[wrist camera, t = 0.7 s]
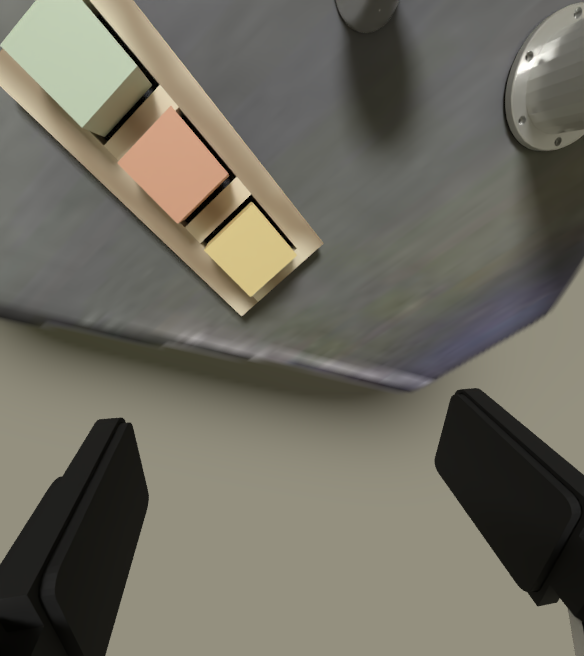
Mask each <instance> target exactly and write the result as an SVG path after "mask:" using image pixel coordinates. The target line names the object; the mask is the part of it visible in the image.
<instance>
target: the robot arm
mask: <svg viewBox="0 0 584 656" xmlns="http://www.w3.org/2000/svg"><path fill="white" fill-rule="evenodd" d="M505 110H506V117H507V121H508V124H509V127H510V130H511V132H512V133H513V135H514V137H515V138H516V139H517V140H518V141H519V142H520V143H521V144H522V145H523V146H525V147H527V148H528V149H531V150H535V151H551V150H557V149H560V148H563V147H566V146H568V145H570V144H572V143H573V142H575V141H577V140H578V139H579V138H581V137H582V136H583V135H584V2H580V3H576V4H572V5H569V6H567V7H565V8H563V9H561V10H559V11H557V12H555V13H554V14H552V15H551V16H549V17H547V18H546V19H545V20H544V21H542V22H541V23H540V24H539V25H538V26H537V27H536V28H535V29H534V30H533V31H532V33H531V34H530V35H529V36H528V38H527V39H526V40H525V42H524V43H523V45H522V47H521V48H520V50H519V52H518V54H517V56H516V58H515V60H514V63H513V65H512V67H511V71H510V74H509V78H508V81H507V87H506V94H505ZM435 467H436V469H437V471H438V473H439V474H440V476H441V477H442V479H443V480H444V481H445V483H446V484H447V486H448V487H449V488H450V490H451V491H452V493H453V494H454V496H455V497H456V498H457V500H458V501H459V503H460V504H461V505H462V507H463V508H464V510H465V511H466V513H467V514H468V515H469V517H470V518H471V520H472V521H473V523H475V525H476V527H477V528H478V530H479V531H480V532H481V534H482V535H483V537H484V538H485V539H486V541H487V542H488V544H489V545H490V547H491V548H492V549H493V551H494V552H495V554H496V555H497V557H498V558H499V559H500V561H501V562H502V564H503V565H504V566H505V568H506V569H507V571H508V572H509V573H510V575H511V576H512V578H513V579H514V581H515V582H516V583H517V585H518V586H519V587H520V588H521V589H523V590H524V591H526V592H528V594H529V595H530V597H531V598H532V599H533V601H534V602H535V603H536V605H537V606H542V605H546V604H551V603H557V602H558V600H559V598H560V599H561V600H562V601H563V602H564V604H565V605H566V606H567V607H568V612H569V618H570V624H571V631H572V637H573V643H574V649H575V655H576V656H584V475H583V474H582V473H581V472H579V471H578V470H577V469H576V468H575V467H573V466H572V465H571V464H570V463H569V462H567V461H566V460H565V459H564V458H562V457H561V456H560V455H559V454H558V453H556V452H555V451H554V450H553V449H551V448H550V447H549V446H548V445H547V444H546V443H544V442H543V441H542V440H541V439H539V438H538V437H537V436H536V435H535V434H533V433H532V432H531V431H530V430H529V429H528V428H526V427H525V426H524V425H523V424H521V423H520V422H519V421H517V419H515V418H514V417H513V416H512V415H510V414H509V413H508V412H507V411H506V410H504V409H503V408H502V407H501V406H500V405H499V404H497V403H496V402H495V401H494V400H492V399H491V398H490V397H489V396H487V395H486V394H485V393H484V392H482V391H481V390H480V389H477V388H474V389H462V390H457V391H456V393H455V395H453V396H452V397H451V399H450V403H449V407H448V411H447V414H446V419H445V422H444V426H443V430H442V433H441V437H440V441H439V445H438V449H437V452H436V456H435ZM148 500H149V495H148V489H147V485H146V481H145V476H144V472H143V468H142V464H141V459H140V455H139V451H138V447H137V442H136V438H135V434H134V430H133V426H132V424H131V423H126V422H125V420H124V419H123V418H111V419H99V420H97V422H96V423H95V424H94V426H93V427H92V429H91V431H90V433H89V434H88V436H87V437H86V439H85V440H84V442H83V444H82V446H81V447H80V449H79V450H78V452H77V454H76V455H75V457H74V458H73V460H72V462H71V463H70V465H69V467H68V468H67V470H66V471H65V473H64V475H63V476H62V477H59V478H57V479H56V480H55V481H54V482H53V483H52V484H51V486H50V487H49V489H48V490H47V492H46V493H45V495H44V497H43V498H42V500H41V501H40V503H39V504H38V506H37V508H36V509H35V511H34V513H33V514H32V516H31V517H30V519H29V520H28V522H27V523H26V525H25V526H24V528H23V530H22V531H21V533H20V535H19V536H18V538H17V539H16V541H15V542H14V544H13V545H12V547H11V549H10V550H9V552H8V554H7V555H6V557H5V558H4V560H3V561H2V563H1V564H0V656H105V654H106V651H107V647H108V644H109V640H110V636H111V633H112V630H113V626H114V623H115V619H116V616H117V612H118V609H119V605H120V602H121V598H122V595H123V591H124V588H125V584H126V581H127V577H128V574H129V570H130V567H131V563H132V560H133V556H134V553H135V549H136V546H137V542H138V539H139V535H140V532H141V528H142V525H143V521H144V518H145V514H146V510H147V507H148Z"/></svg>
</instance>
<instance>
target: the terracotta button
mask: <svg viewBox="0 0 584 656" xmlns="http://www.w3.org/2000/svg"><path fill="white" fill-rule="evenodd" d="M117 163H118V164H119V165H120V166H121V167H122V168H123V169H124V170H125V171H126V172H127V173H128V175H129V176H130V177H131V178H132V179H133V180H134V181H135V182H136V183H137V184H138V185H139V186H140V187H141V188H142V189H143V190H144V191H145V192H146V193H147V194H148V195H149V196H150V197H151V198H152V199H153V200H154V201H155V202H156V203H157V204H158V205H159V206H160V207H161V208H162V209H163V210H164V211H165V212H166V213H167V214H168V215H169V216H170V217H171V218H172V219H173V220H174V221H175V222H176V223H177V224H178V223H180V222H182V221H184V220H185V219H186V218H187V217H188V216H189V215H190V214H191V213H192V212H193V211H194V210H195V209H196V208H197V207H198V206H199V205H200V204H201V203H202V202H203V201H204V200H206V199H207V198H208V197H209V196H210V195H211V194H212V193H213V192H214V191H215V190H216V189H217V188H218V187H219V186H220V185H221V184H222V183H223V182H224V181H225V180H226V179H227V178H228V177H229V174H228V173H227V171H226V170H225V169H224V168H223V167H222V165H221V164H220V163H219V162H218V161H217V160H216V158H215V157H214V156H213V155H212V154H211V152H210V151H209V150H208V149H207V148H206V147H205V145H204V144H203V143H202V142H201V141H200V139H199V138H198V137H197V136H196V135H195V133H194V132H193V131H192V130H191V129H190V128H189V126H188V125H187V124H186V123H185V122H184V120H183V119H182V118H181V117H180V116H179V115H178V113H177V112H176V111H175V110H174V109H173V107H172V106H170V107H169V108H168V109H167V110H166V111H165V112H164V113H163V114H162V115H161V116H160V118H159V119H158V120H157V121H156V122H155V123H154V124H153V125H152V126H151V127H150V128H149V129H148V130H147V131H146V133H145V134H144V135H143V136H142V137H141V138H140V139H139V140H138V141H137V142H136V143H135V144H134V145H133V146H132V147H131V149H130V150H129V151H128V152H127V153H126V154H125V155H124V156H123V157H122V158H121V159H120V160H119V161H118V162H117Z"/></svg>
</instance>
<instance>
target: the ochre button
mask: <svg viewBox="0 0 584 656" xmlns="http://www.w3.org/2000/svg"><path fill="white" fill-rule="evenodd" d="M204 251H205V252H206V253H207V254H208V255H209V256H210V257H211V258H212V259H213V260H214V261H215V262H216V263H217V264H218V265H219V266H220V267H221V268H222V269H223V270H224V271H225V272H226V273H227V274H228V275H229V276H230V277H231V278H232V279H233V280H234V281H235V282H236V283H237V284H238V285H239V286H240V287H241V288H242V289H243V290H244V291H245V292H246V293H247V294H248V295H249V296H250V297H251V296H253V295H254V294H255V293H256V292H257V291H258V290H259V289H260V288H261V287H263V286H264V285H265V284H266V283H267V282H268V281H269V280H270V279H271V278H273V277H274V276H275V275H276V274H277V273H278V272H279V271H280V270H281V269H283V268H284V267H285V266H286V265H287V264H288V263H289V262H290V261H291V260H293V259H294V258H295V257H296V256H297V254H296V253H295V252H294V251H293V250H292V248H291V247H290V246H289V245H288V244H287V243H286V241H285V240H284V239H283V238H282V237H281V235H280V234H279V233H278V232H277V231H276V229H275V228H274V227H273V226H272V225H271V224H270V222H269V221H268V220H267V219H266V218H265V216H264V215H263V214H262V213H261V212H260V211H259V209H258V208H257V207H256V206H255V205H254V203H252V202H250V203H249V204H248V205H247V206H246V207H245V208H244V209H243V210H242V211H241V212H240V213H239V214H238V215H237V216H236V217H234V218H233V219H232V220H231V221H230V222H229V223H228V224H227V225H226V226H225V227H224V228H223V229H222V230H221V231H220V232H219V233H218V234H217V235H216V236H215V237H214V238H213V239H212V240H210V241H209V242H208V244H207V246H206V248H205V249H204Z"/></svg>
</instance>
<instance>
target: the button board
mask: <svg viewBox="0 0 584 656" xmlns="http://www.w3.org/2000/svg"><path fill="white" fill-rule="evenodd" d="M82 1H83V2H84V3H85V4H86V6H87V7H88V8H89V9H90V10H91V11H92V13H93V14H94V15H95V16H96V17H97V16H98V15H99V14H100V15H101V16H102V17H103V19H104V20H105V21H106V22H107V23H108V25H109V26H110V27H111V28H112V29H113V31H114V32H115V33H116V34H117V35H118V37H119V38H120V39H121V40H122V41H123V43H124V44H125V45H126V46H127V47H128V49H129V50H130V51H131V52H132V53H133V55H134V56H135V57H136V58H137V59H138V61H139V62H140V63H141V64H142V65H143V66H144V68H145V69H146V70H147V71H148V72H149V74H150V75H151V76H152V77H153V78H154V80H155V81H156V82H157V83H158V84H159V86H158V87H157V88H156V89H155V91H154V92H153V93H152V94H151V95H150V96H149V97H148V98H147V99H146V100H145V101H144V103H143V104H142V105H141V106H140V107H139V108H138V109H137V110H136V111H135V112H134V113H133V115H132V116H131V117H130V118H129V119H128V120H127V121H126V122H125V123H124V124H123V125H122V127H121V128H120V129H119V130H118V131H117V132H116V133H115V134H114V135H113V136H112V137H111V139H110V140H109V141H108V142H107V140H106V139H105V138H104V137H103V136H101V135H98V134H96V133H93V132H91V131H89V130H86V129H84V128H82V127H81V126H80V125H79V124H78V123H77V122H76V121H75V120H74V119H73V118H72V117H71V116H70V115H69V114H68V113H67V112H66V111H65V110H64V109H63V108H62V107H61V106H60V105H59V104H58V103H57V102H56V101H55V100H54V99H53V98H52V97H51V96H50V95H49V94H48V93H47V92H46V91H45V90H44V89H43V88H42V87H41V86H40V85H39V84H38V83H37V82H36V81H35V80H34V79H33V78H32V77H31V76H30V75H29V74H28V73H27V72H26V71H25V70H24V69H23V68H22V67H21V66H20V65H19V64H18V63H17V62H16V61H15V60H14V59H13V58H12V57H11V56H10V55H9V54H8V53H7V52H6V51H5V50H4V49H2V50H1V51H0V86H1V87H2V88H3V89H4V90H5V91H6V92H7V93H8V94H9V95H10V96H11V97H12V98H13V99H15V100H16V101H17V102H18V103H19V104H20V105H21V106H22V107H23V108H24V109H25V110H26V111H27V112H28V113H29V114H30V115H31V116H32V117H33V118H34V119H35V120H37V121H38V122H39V123H40V124H41V125H42V126H43V127H44V128H45V129H46V130H47V131H48V132H49V133H50V134H51V135H52V136H53V137H54V138H55V139H56V140H57V141H59V142H60V143H61V144H62V145H63V146H64V147H65V148H66V149H67V150H68V151H69V152H70V153H71V154H72V155H73V156H74V157H75V158H76V159H77V160H78V161H79V162H80V163H82V164H83V165H84V166H85V167H86V168H87V169H88V170H89V171H90V172H91V173H92V174H93V175H94V176H95V177H96V178H97V179H98V180H99V181H100V182H101V183H102V184H104V185H105V186H106V187H107V188H108V189H109V190H110V191H111V192H112V193H113V194H114V195H115V196H116V197H117V198H118V199H119V200H120V201H121V202H122V203H123V204H124V205H126V206H127V207H128V208H129V209H130V210H131V211H132V212H133V213H134V214H135V215H136V216H137V217H138V218H139V219H140V220H141V221H142V222H143V223H144V224H145V225H146V226H148V227H149V228H150V229H151V230H152V231H153V232H154V233H155V234H156V235H157V236H158V237H159V238H160V239H161V240H162V241H163V242H164V243H165V244H166V245H167V246H168V247H169V248H171V249H172V250H173V251H174V252H175V253H176V254H177V255H178V256H179V257H180V258H181V259H182V260H183V261H184V262H185V263H186V264H187V265H188V266H189V267H190V268H191V269H193V270H194V271H195V272H196V273H197V274H198V275H199V276H200V277H201V278H202V279H203V280H204V281H205V282H206V283H207V284H208V285H209V286H210V287H211V288H212V289H213V290H215V291H216V292H217V293H218V294H219V295H220V296H221V297H222V298H223V299H224V300H225V301H226V302H227V303H228V304H229V305H230V306H231V307H232V308H233V309H234V310H235V311H237V312H238V313H239V314H240V315H241V316H243V315H244V314H245V313H246V312H247V311H248V310H249V309H251V308H252V307H253V306H254V305H255V304H256V303H257V302H258V301H260V300H261V299H262V298H263V297H264V296H265V295H266V294H267V293H269V292H270V291H271V290H272V289H273V288H274V287H275V286H276V285H277V284H279V283H280V282H281V281H282V280H283V279H284V278H285V277H286V276H288V275H289V274H290V273H291V272H292V271H293V270H294V269H295V268H297V267H298V266H299V265H300V264H301V263H302V262H303V261H304V260H306V259H307V258H308V257H309V256H310V255H311V254H312V253H313V252H315V251H316V250H317V249H318V248H319V247H320V246H321V245H322V244H324V243H323V242H322V241H321V239H320V238H319V237H318V236H317V234H316V233H315V232H314V231H313V229H312V228H311V227H310V225H309V224H308V223H307V222H306V220H305V219H304V218H303V216H302V215H301V214H300V213H299V211H298V210H297V209H296V208H295V206H294V205H293V204H292V202H291V201H290V200H289V199H288V197H287V196H286V195H285V194H284V192H283V191H282V190H281V188H280V187H279V186H278V185H277V183H276V182H275V181H274V179H273V178H272V177H271V176H270V174H269V173H268V172H267V171H266V169H265V168H264V167H263V165H262V164H261V163H260V162H259V160H258V159H257V158H256V156H255V155H254V154H253V153H252V151H251V150H250V149H249V148H248V146H247V145H246V144H245V142H244V141H243V140H242V139H241V137H240V136H239V135H238V134H237V132H236V131H235V130H234V128H233V127H232V126H231V125H230V123H229V122H228V121H227V119H226V118H225V117H224V116H223V114H222V113H221V112H220V111H219V109H218V108H217V107H216V105H215V104H214V103H213V102H212V100H211V99H210V98H209V97H208V95H207V94H206V93H205V91H204V90H203V89H202V88H201V86H200V85H199V84H198V82H197V81H196V80H195V79H194V77H193V76H192V75H191V74H190V72H189V71H188V70H187V68H186V67H185V66H184V65H183V63H182V62H181V61H180V59H179V58H178V57H177V56H176V54H175V53H174V52H173V51H172V49H171V48H170V47H169V45H168V44H167V43H166V42H165V40H164V39H163V38H162V37H161V35H160V34H159V33H158V31H157V30H156V29H155V28H154V26H153V25H152V24H151V22H150V21H149V20H148V19H147V17H146V16H145V15H144V14H143V12H142V11H141V10H140V8H139V7H138V6H137V5H136V3H135V2H134V1H133V0H82ZM170 106H172V107H173V109H174V110H175V111H176V112H177V113H178V115H179V116H180V117H182V116H183V115H185V117H186V118H187V119H188V120H189V121H190V123H191V124H192V125H193V126H194V127H195V129H196V130H197V131H198V132H199V133H200V135H201V136H202V137H203V138H204V139H205V141H206V142H207V143H208V144H209V145H210V147H211V148H212V149H213V150H214V151H215V153H216V154H217V155H218V156H219V157H220V159H221V160H222V161H223V162H224V163H225V164H226V166H227V167H228V168H229V169H230V170H231V172H232V173H233V174H234V175H235V176H236V178H235V179H234V180H233V181H232V182H231V183H230V184H229V185H228V186H227V187H226V188H225V189H224V190H223V191H222V192H221V193H220V194H219V195H218V196H216V197H215V198H214V199H213V200H212V201H211V202H210V203H209V204H208V205H207V206H206V207H205V208H204V209H203V210H202V211H201V212H200V213H199V214H198V215H197V216H196V217H195V218H194V219H193V220H192V221H191V222H190V223H189V224H188V223H187V222H186V221H185V220H184V221H182V222H180V223H178V224H177V223H176V222H175V221H174V220H173V219H172V218H171V217H170V216H169V215H168V214H167V213H166V212H165V211H164V210H163V209H162V208H161V207H160V206H159V205H158V204H157V203H156V202H155V201H154V200H153V199H152V198H151V197H150V196H149V195H148V194H147V193H146V192H145V191H144V190H143V189H142V188H141V187H140V186H139V185H138V184H137V183H136V182H135V181H134V180H133V179H132V178H131V177H130V176H129V175H128V173H127V172H126V171H125V170H124V169H123V168H122V167H121V166H120V165H119V164H118V163H117V162H118V161H119V160H120V159H121V158H122V157H123V156H124V155H125V154H126V153H127V152H128V151H129V150H130V149H131V147H132V146H133V145H134V144H135V143H136V142H137V141H138V140H139V139H140V138H141V137H142V136H143V135H144V134H145V133H146V131H147V130H148V129H149V128H150V127H151V126H152V125H153V124H154V123H155V122H156V121H157V120H158V119H159V118H160V116H161V115H162V114H163V113H164V112H165V111H166V110H167V109H168V108H169V107H170ZM250 195H251V196H252V197H253V198H254V199H255V200H256V202H257V203H258V204H259V205H260V206H261V207H262V209H263V210H264V211H265V212H266V213H267V215H268V216H269V217H270V218H271V219H272V221H273V222H274V223H275V224H276V225H277V227H278V228H279V229H280V230H281V231H282V233H283V234H284V235H285V236H286V237H287V239H288V240H289V241H290V242H291V243H292V245H291V246H290V247H291V248H292V250H293V251H294V252H295V253H296V254H297V256H296V257H295V258H294V259H293V260H291V261H290V262H289V263H288V264H287V265H286V266H285V267H284V268H283V269H281V270H280V271H279V272H278V273H277V274H276V275H275V276H274V277H273V278H271V279H270V280H269V281H268V282H267V283H266V284H265V285H264V286H263V287H261V288H260V289H259V290H258V291H257V292H256V293H255V294H254V295H253V296H251V297H250V296H249V295H248V294H247V293H246V292H245V291H244V290H243V289H242V288H241V287H240V286H239V285H238V284H237V283H236V282H235V281H234V280H233V279H232V278H231V277H230V276H229V275H228V274H227V273H226V272H225V271H224V270H223V269H222V268H221V267H220V266H219V265H218V264H217V263H216V262H215V261H214V260H213V259H212V258H211V257H210V256H209V255H208V254H207V253H206V252H205V251H204V249H205V248H206V246H207V243H206V242H205V241H204V239H205V238H206V237H207V236H208V235H209V234H210V233H211V232H212V231H214V230H215V229H216V228H217V227H218V226H219V225H220V224H221V223H222V222H223V221H224V220H225V219H226V218H227V217H228V216H229V215H230V214H231V213H232V212H233V211H234V210H235V209H236V208H237V207H238V206H240V205H241V204H242V203H243V202H244V201H245V200H246V199H247V198H248V197H249V196H250Z"/></svg>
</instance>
